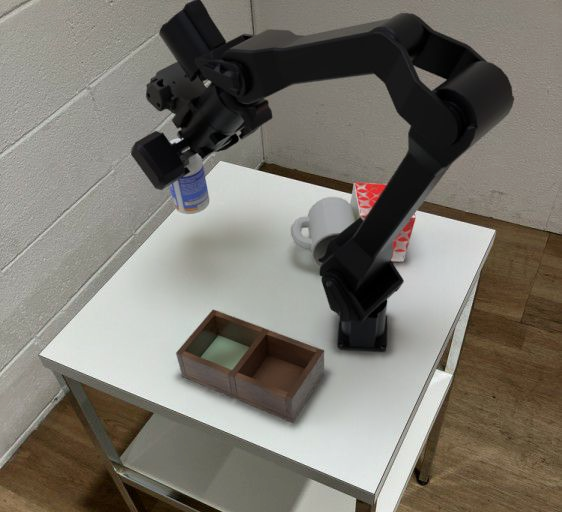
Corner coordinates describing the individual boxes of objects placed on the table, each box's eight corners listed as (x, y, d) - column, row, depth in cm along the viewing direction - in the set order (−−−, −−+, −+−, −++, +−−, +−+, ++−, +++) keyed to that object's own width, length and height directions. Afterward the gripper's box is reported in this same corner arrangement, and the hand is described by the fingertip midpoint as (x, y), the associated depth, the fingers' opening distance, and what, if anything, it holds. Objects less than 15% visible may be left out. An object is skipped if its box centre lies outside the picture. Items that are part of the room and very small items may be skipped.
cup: (349, 235, 100) (356, 273, 94) (286, 232, 99) (289, 270, 93) (358, 196, 95) (366, 233, 89) (291, 192, 94) (295, 230, 88)
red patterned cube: (354, 182, 93) (360, 215, 88) (406, 184, 94) (415, 217, 89) (345, 227, 99) (351, 260, 94) (395, 229, 100) (403, 262, 95)
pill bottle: (216, 198, 96) (206, 138, 88) (198, 218, 93) (187, 158, 85) (185, 191, 98) (173, 131, 90) (167, 211, 95) (153, 151, 87)
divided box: (324, 373, 82) (324, 350, 78) (292, 422, 77) (291, 399, 74) (217, 332, 87) (212, 309, 84) (181, 376, 83) (175, 352, 79)
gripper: (235, 22, 80) (190, 86, 93) (120, 80, 71) (89, 141, 85) (286, 101, 82) (235, 152, 96) (180, 166, 74) (141, 212, 87)
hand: (177, 162), depth 91 cm, fingers closed on pill bottle, 5 cm apart
